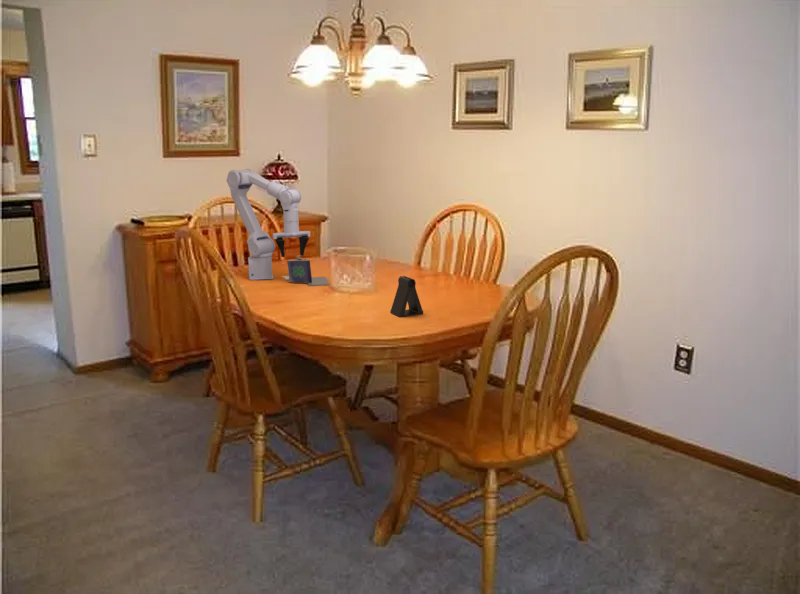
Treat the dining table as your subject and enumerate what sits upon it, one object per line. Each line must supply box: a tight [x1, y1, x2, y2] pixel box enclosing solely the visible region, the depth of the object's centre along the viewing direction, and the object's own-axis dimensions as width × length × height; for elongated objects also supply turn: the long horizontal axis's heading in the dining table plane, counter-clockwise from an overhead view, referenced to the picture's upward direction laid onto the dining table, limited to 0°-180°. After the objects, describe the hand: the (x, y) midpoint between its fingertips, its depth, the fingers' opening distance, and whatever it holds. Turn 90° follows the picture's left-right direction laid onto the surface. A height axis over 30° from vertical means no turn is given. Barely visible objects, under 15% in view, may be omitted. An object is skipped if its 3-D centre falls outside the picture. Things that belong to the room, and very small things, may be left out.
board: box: [307, 276, 331, 287], centre depth 269 cm, size 8×14×1 cm, turn 13°
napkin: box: [282, 275, 289, 281], centre depth 276 cm, size 8×6×1 cm
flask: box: [286, 254, 313, 284], centre depth 266 cm, size 9×3×11 cm, turn 76°
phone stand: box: [390, 275, 424, 318], centre depth 222 cm, size 9×6×12 cm, turn 120°
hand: (292, 256), depth 266 cm, fingers open, 7 cm apart
